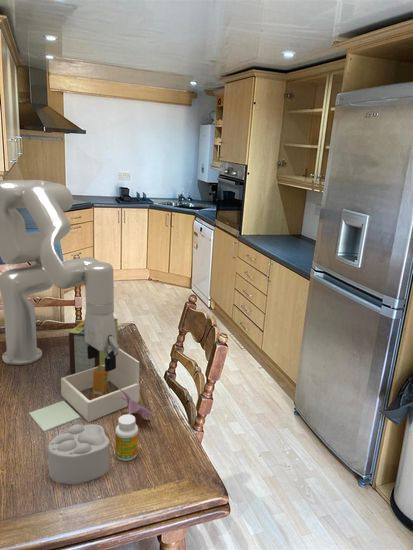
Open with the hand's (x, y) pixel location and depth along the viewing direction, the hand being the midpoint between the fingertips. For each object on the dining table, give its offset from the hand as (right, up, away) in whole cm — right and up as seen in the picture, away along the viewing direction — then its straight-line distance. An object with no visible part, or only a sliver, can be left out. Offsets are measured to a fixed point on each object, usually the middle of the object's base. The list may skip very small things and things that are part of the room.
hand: (101, 363), depth 123 cm
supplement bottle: (+11, -18, -18) cm, 28 cm away
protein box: (-8, -6, +21) cm, 24 cm away
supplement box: (-1, -11, +4) cm, 12 cm away
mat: (-11, -13, -6) cm, 18 cm away
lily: (+10, -15, -6) cm, 19 cm away
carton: (-1, -11, +4) cm, 12 cm away
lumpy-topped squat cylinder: (0, -19, -24) cm, 30 cm away
